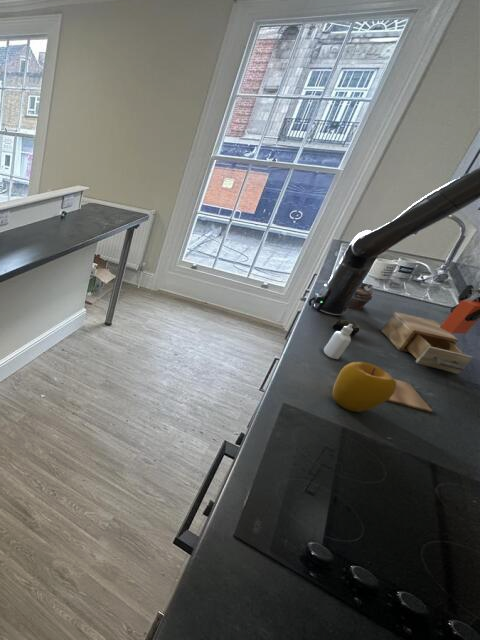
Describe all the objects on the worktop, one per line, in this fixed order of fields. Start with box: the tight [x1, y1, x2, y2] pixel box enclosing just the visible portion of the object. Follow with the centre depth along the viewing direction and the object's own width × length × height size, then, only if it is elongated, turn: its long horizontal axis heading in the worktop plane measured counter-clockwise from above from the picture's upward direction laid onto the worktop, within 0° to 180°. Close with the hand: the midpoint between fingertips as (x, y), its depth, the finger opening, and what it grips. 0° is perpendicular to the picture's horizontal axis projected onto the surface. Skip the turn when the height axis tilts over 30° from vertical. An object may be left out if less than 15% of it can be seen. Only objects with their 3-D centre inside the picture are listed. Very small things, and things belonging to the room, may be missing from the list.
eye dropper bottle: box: [323, 324, 353, 360], centre depth 130 cm, size 4×6×12 cm
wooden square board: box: [386, 378, 434, 413], centre depth 118 cm, size 12×14×1 cm
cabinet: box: [381, 311, 459, 354], centre depth 142 cm, size 15×12×8 cm
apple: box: [332, 361, 396, 413], centre depth 107 cm, size 11×11×13 cm
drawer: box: [405, 333, 473, 374], centre depth 132 cm, size 18×11×6 cm, turn 156°
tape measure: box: [332, 319, 360, 337], centre depth 147 cm, size 7×7×4 cm
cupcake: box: [346, 281, 374, 310], centre depth 169 cm, size 10×10×10 cm
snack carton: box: [440, 300, 480, 334], centre depth 125 cm, size 4×6×10 cm, turn 96°
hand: (459, 315), depth 124 cm, fingers closed on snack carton, 3 cm apart
